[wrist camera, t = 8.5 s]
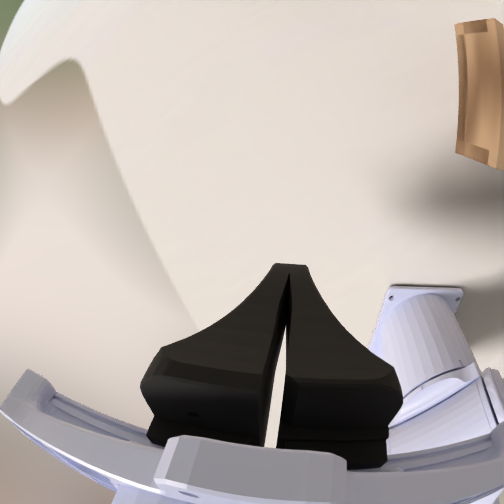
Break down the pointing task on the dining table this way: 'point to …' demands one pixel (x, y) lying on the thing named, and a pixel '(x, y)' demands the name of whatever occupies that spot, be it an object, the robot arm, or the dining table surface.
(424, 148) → the dining table surface
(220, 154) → the dining table surface
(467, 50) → the tipping chute
